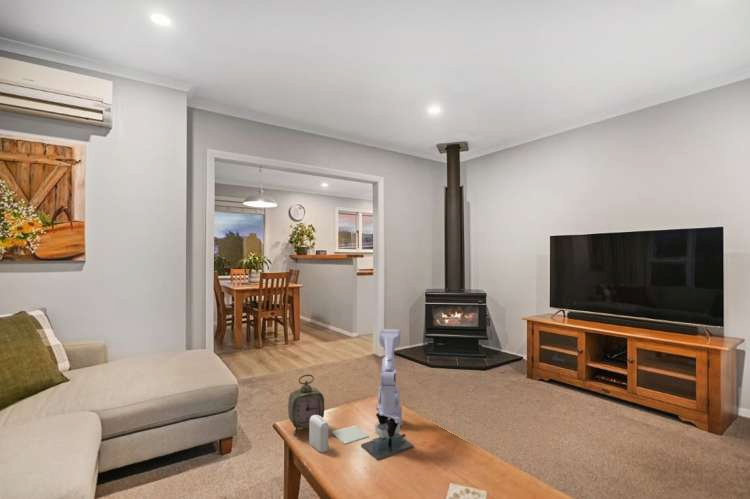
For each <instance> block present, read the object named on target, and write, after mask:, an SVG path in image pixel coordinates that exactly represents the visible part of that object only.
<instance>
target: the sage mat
mask: <svg viewBox="0 0 750 499" xmlns="http://www.w3.org/2000/svg"><path fill="white" fill-rule="evenodd" d="M331 434H333V436H334V437H336V438H337V440H339V441H340V442H341V443H342V444H343V445H348V444H350V443H353V442H358V441H360V440H365V439H367V438H369V437H370V436H369V435H368V434H367V433H366V432H364V431H363V430H362V429H360V428H359V427H358V426H357V425H356V424H354V425H350V426H347V427H344V428H340V429H336V430H333V431H331Z"/></svg>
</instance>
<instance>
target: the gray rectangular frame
mask: <svg viewBox="0 0 750 499" xmlns="http://www.w3.org/2000/svg"><path fill="white" fill-rule="evenodd" d="M374 427H375V428H374V430H375V431H374V433H375V434H376V435H377V436H379V437H381V438H384V437H387V436H389V433H388V425H387V422H386V423H382V424H375V425H374ZM396 433H399V434H400V433H401V425H399V424H398V425H397V427H396V430H395V434H396Z"/></svg>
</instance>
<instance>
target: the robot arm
mask: <svg viewBox="0 0 750 499" xmlns="http://www.w3.org/2000/svg"><path fill="white" fill-rule="evenodd" d="M378 337H379V338H378V340H379V344H380V346H381V347H383V349H384V357H383V358H382V362H381V373H380V377H379V378H380V379H379V380H380V381H379V383H380V386H379V387H378V396H377V398H378V399H377V401H378V402H377V403H378V404H377V405H376V407H375V408H376V409H375V410H376V411H378V412H377V413H376V414H375V416H376V418H377V422H376V423H377V425H379V424H382V423H386V422H387V425H388V433H389V437H393V436H394V434H395V430H396V427H397V425H398V424H399V425H400V426H403V421H402V420H403V419H402V418H403V417H402V416H403V411H402V406H401V404H400V388H399V386H398V385H397V369H396V358H395V351H396V348H398V347H400V345H401V330H400V328H397V329H396V328H394V329H393V328H380V329H379V336H378Z"/></svg>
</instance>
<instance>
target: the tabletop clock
mask: <svg viewBox="0 0 750 499" xmlns="http://www.w3.org/2000/svg"><path fill="white" fill-rule="evenodd" d="M305 377H311V378H312V380H311V381H308V380H305V381H304V382H301V379H302V378H305ZM314 379H315V377H314V375H312V374H310V373H309V374H303V375H301V376H300V377H299V379H298V383H299V384H300V385H301V387H300V389H297V390H293V391H291V392H290V393H289V397H288V401H287V402H288V403H287V411H288V412H287V413H288V419H289V420H290V422H291V424H292V425H293V427H294V428H295V430H294V431H293V433H292V434H293V436H295V435H296V436H297V435H298V431H297V430H298V429H304V428H305V429H306V428H309V421H310V418H311V416H313V415H319V416H321V417H322V418H324V416H325V399H324V395H323V393H322V392H321V391H320V390H319V389H318V388H316V387H312V386H311V385H310V384H312V382H314V381H315V380H314Z"/></svg>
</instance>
